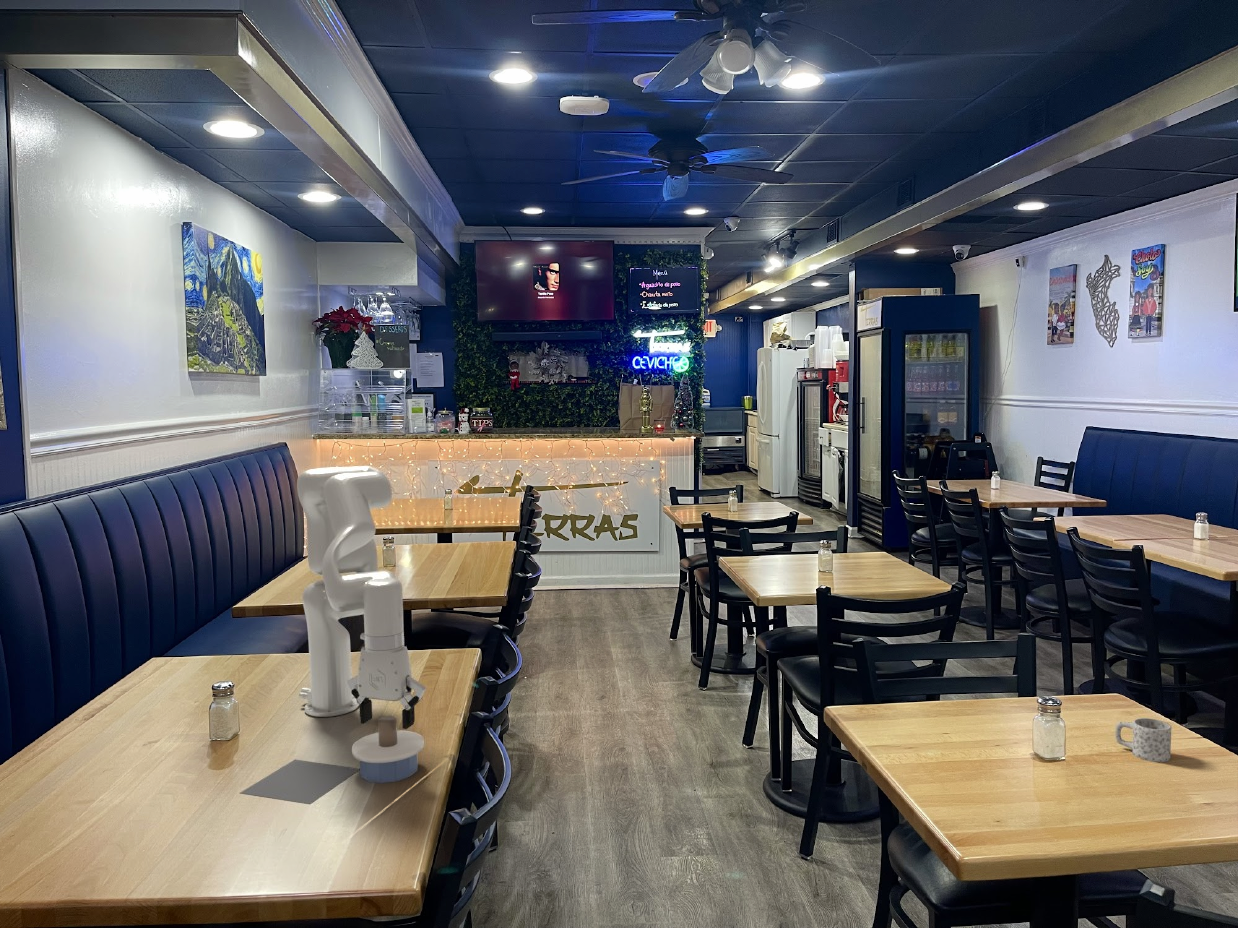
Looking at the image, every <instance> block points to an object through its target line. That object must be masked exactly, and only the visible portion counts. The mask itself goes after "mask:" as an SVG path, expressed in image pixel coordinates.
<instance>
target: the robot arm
mask: <svg viewBox="0 0 1238 928" xmlns="http://www.w3.org/2000/svg"><path fill="white" fill-rule="evenodd" d="M296 480H297V481H296V491H297V496H298V500H299V503H300V504H301V507H302V510H303V512H304V515H305V519H306V542H307V561H308V567H309V569H310V571H311V572H312V573H313V574H314V575H316V576H317V575H318V576H322V580H317V581H313V582H312V583H309V584H308V585H307V586H306V587H305V588H304V590H303V592H302V606H303V610H304V615H305V619H306V625H307V626H306V627H307V636H308V637H307V640H308V656H309V657H308V658H309V661H308V662H309V681H310V682H309V683H310V687H302V688H301V690H300V693H298V698H299V699H303V700H304V699H306V700H307V701H306V702H307V703H306V704H305V705H304V712H305V713H306V714H307V715H309V716H312V717H317V718H318V717H320V718H327V717H334V716H335V717H336V716H342V715H344V714H348V713H351V712H353V711H355V710H356V709H359V720H360V724H362V725H364V724H366V723H367V722H369V721H371V720H372V719H373V700H378V701H386V702H387V701H388V702H398V701H399V702H400V703H401V705H402V706H403V709H402V711H401V721H402V729H403V730H408V729H409V728H410V727H412V726H413V725H414V723H415V721H416V719H415V717H416V716H415V715H416V714H415V712H416V711H415V707H416V706H417V704H418V703H419V702H420V701H421V700H422V699H423V695H425V692H426V689H427V688H426V686H424V685H423V684H422V683H420V682H419V681H418V680H416V679H415V678H414V677H413V675H412V674H413V673H412V668H411V667H412V666H411V659H410V656H409V651H408V648H407V645H406V646H405V636H404V635H405V634H404V633H405V632H404V631H405V630H404V605H403V604H404V601H403V586H402V583H401V581H400V580H399V577H398V576H396V575H395V573H394V572H392V571H390V570H387V569H385V570H384V569H383V570H378V552H377V546H376V542H375V540H374V537H375V535H376V526H375V522H374V519H373V516H372V513H371V510H374V509H376V510H377V509H384V508H387V507H388V506H389V505H390V503H391V501H392V499H393V497H392V495H393V491H392V490H393V489H392V485H391V482H390V480H389V478H388V477H387V475H386V474H385V473H384V472H383V471H382V470H380V469H377V468H375V467H373V466H371V465H355V466H335V467H334V466H332V467H331V466H329V467H318V468H311V469H308V470H305V471H302V472H301V473H300V474H299V475H298V477H297V479H296ZM360 615H362V616H363V621H364V622H363V624H364V625H363V626H364V627H363V628H364V632H362V633H360V636H359V637H360V638H359V639H360V640H361V641H362V640H363V641H364V646H362V647H361V649H360V654H359V658H358V659H359V661H358V670H357V675H356V676H353V677H352V661H351V660H352V659H351V658H352V655H351V654H352V653H351V638H350V637H351V636H350V633H349V631H348V630H347V629H346V628H345V626H343V625H342V624H341V623H340V621H339V620H340V619H342V618H343V619H345V618H347V617H348V618H349V617H355V616H356V617H357V616H360ZM413 690H414V692H415V693H414V696H413V694H412V691H413ZM372 699H373V700H372ZM358 707H359V708H358Z"/></svg>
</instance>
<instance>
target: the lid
mask: <svg viewBox="0 0 1238 928" xmlns="http://www.w3.org/2000/svg"><path fill="white" fill-rule="evenodd" d="M397 723H398V722H397V717H396V716H394V715H388V716H382V717H380V718H378V719H377V727H378V728H377V729H378V730H377V731H378V732H375V733H374V732H373V733H370V734H367V735H364V736H363V737H361V738H359V739H357V740H356V741H355V742H354V743H353V744H352V746H351V754H352V757H354V759H356V760H357V761H359V762H360V761H363V762H369V763H387V762H394V761H399V760H403V759H406V758H409V757H411V756H414V755H416V754H417V755H418V753H421V751H422V750H423V749H424V746H425V740H424V739H425V738H424V737H423V735H421V734H419V733H417V732H414V731H410V730H405V729H403V730H401V729H399V730H398V725H397Z"/></svg>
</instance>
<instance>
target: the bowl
mask: <svg viewBox="0 0 1238 928" xmlns="http://www.w3.org/2000/svg"><path fill="white" fill-rule="evenodd" d="M418 764H419V763H418V753H417V754H416V755H414V756H411V757H409V758H406V759H403V760H399V761H394V762H387V763H369V762H363V761H360V760H359V766H360V767H359V768H360V770H359V771H360V777H361V778H362V779H364V780H365V781H366V782H371V783H377V784H378V783H379V784H383V783H392V782H393V783H395V782H399V781H401V780H404V779H407V778H410V777H411V776H413V775H414V774H415V773H416V772H418V766H419V765H418Z"/></svg>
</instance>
